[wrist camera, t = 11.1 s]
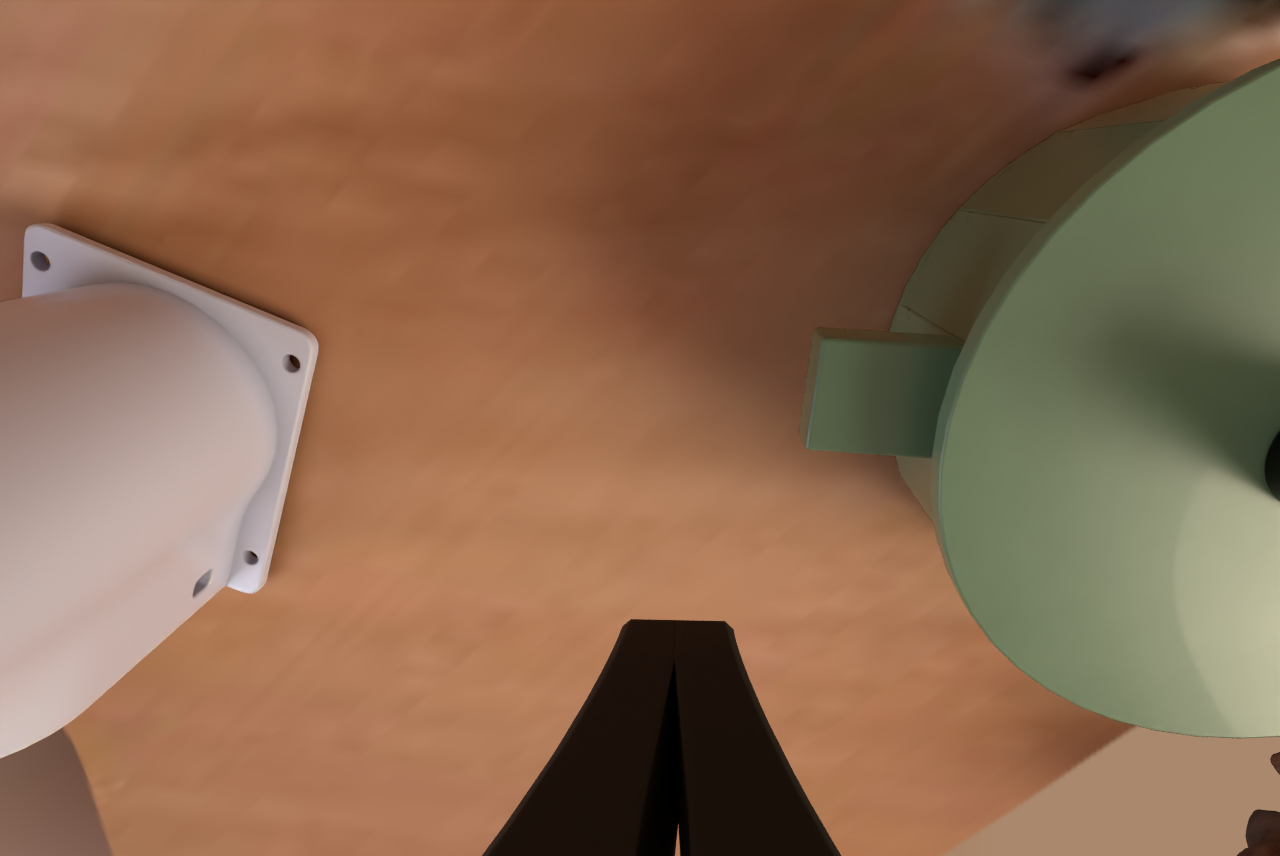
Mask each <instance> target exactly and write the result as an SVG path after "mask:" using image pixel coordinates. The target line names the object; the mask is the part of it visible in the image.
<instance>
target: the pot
mask: <svg viewBox="0 0 1280 856" xmlns="http://www.w3.org/2000/svg"><path fill="white" fill-rule="evenodd" d="M1229 82H1231V81H1228V82H1222V83H1216V84H1210V85H1204V86H1198V87H1192V88H1186V89H1180V90H1174V91H1171V92H1168V93H1165V94H1162V95H1160V96H1157V97H1154V98H1151V99H1148V100H1145V101H1143V102H1140V103H1136V104H1133V105H1129V106H1126V107H1123V108H1119V109H1116V110H1112V111H1109V112H1105V113H1103V114H1100V115H1098V116H1095V117H1093V118H1091V119H1088V120H1086V121H1084V122H1081V123H1079V124H1076V125H1074V126H1072V127H1069V128H1066V129H1063V130H1060V131H1058V132H1057V133H1055V134H1053V135H1052V136H1050V137H1049V138H1048V139H1047V140H1045V141H1044V142H1042V143H1040V144H1038V145H1036V146H1035V147H1033V148H1031V149H1030V150H1028V151H1027V152H1026V153H1024V154H1023V155H1021V156H1020V157H1019V158H1017V159H1016V160H1014V161H1013V162H1011V163H1010V164H1009V165H1007V166H1006V167H1004V168H1003V169H1002V170H1000V171H999V172H998V173H997V174H995V175H994V176H993V177H992V178H991V179H990V180H989V181H988V182H986V183H985V184H984V185H983V186H982V187H981V188H980V189H979V190H978V191H976V192H975V193H974V194H973V195H972V196H971V197H970V198H969V199H968V200H967V201H966V202H965V203H964V204H963V205H962V207H961V208H960V209H959V210H958V211H957V212H956V213H955V214H954V215H953V217H952V218H951V219H950V220H949V221H948V222H947V223H946V224H945V225H944V227H943V228H942V229H941V231H940V232H939V234H938V235H937V236H936V238H935V239H934V241H933V242H932V243H931V245H930V246H929V248H928V249H927V250H926V252H925V253H924V255H923V256H922V258H921V260H920V262H919V263H918V265H917V267H916V269H915V271H914V272H913V274H912V276H911V278H910V280H909V281H908V283H907V285H906V287H905V290H904V292H903V295H902V297H901V300H900V302H899V304H898V307H897V309H896V312H895V314H894V317H893V321H892V325H891V328H890V332H887V331H872V330H856V329H840V328H825V327H818V328H815V330H814V332H813V338H812V345H811V352H810V358H809V365H808V371H807V378H806V384H805V391H804V398H803V404H802V411H801V417H800V424H799V434H800V436H801V439H802V441H803V444H804V446H805V448H806V449H808V450H820V451H834V452H847V453H861V454H874V455H888V456H895V457H896V460H897V464H898V469H899V473H900V475H901V476H902V478H903V480H904V481H905V483H906V484H907V486H908V487H909V489H910V490H911V492H912V493H913V495H914V496H915V497H916V499H917V500H918V502H919V503H920V505H921V506H922V508H923V509H924V511H925V512H926V513H927V515H928V516H929V518H930V519H931V521H932V522H933V524H934V517H933V510H932V503H931V462H932V452H933V446H934V440H935V434H936V428H937V422H938V416H939V412H940V409H941V406H942V403H943V399H944V396H945V393H946V390H947V386H948V383H949V380H950V377H951V374H952V370H953V368H954V366H955V364H956V361H957V359H958V357H959V355H960V353H961V351H962V348H963V346H964V344H965V342H966V340H967V337H968V335H969V333H970V331H971V329H972V327H973V324H974V323H975V321H976V319H977V318H978V316H979V314H980V313H981V311H982V310H983V308H984V306H985V305H986V303H987V301H988V300H989V298H990V296H991V295H992V293H993V292H994V290H995V288H996V287H997V285H998V283H999V282H1000V280H1001V278H1002V277H1003V276H1004V274H1005V273H1006V272H1007V270H1008V269H1009V268H1010V267H1011V265H1012V264H1013V263H1014V261H1015V260H1016V259H1017V258H1018V256H1019V255H1020V254H1021V252H1022V251H1023V250H1024V249H1025V247H1026V246H1027V245H1028V243H1029V242H1030V241H1031V240H1032V238H1033V237H1034V236H1035V234H1036V233H1037V232H1038V231H1039V230H1040V229H1041V228H1042V227H1043V226H1044V224H1045V223H1046V222H1047V221H1048V220H1049V219H1050V218H1051V217H1052V216H1053V215H1054V214H1055V213H1056V212H1057V211H1058V210H1059V209H1060V208H1061V207H1062V206H1063V205H1064V204H1065V203H1066V202H1067V201H1068V200H1069V199H1070V198H1071V196H1072V195H1073V194H1074V193H1075V192H1076V191H1077V190H1078V189H1079V188H1080V187H1081V186H1082V185H1083V184H1085V183H1086V182H1087V181H1088V180H1089V179H1091V178H1092V177H1093V176H1094V175H1095V174H1096V173H1098V172H1099V171H1100V170H1101V169H1102V168H1104V167H1105V166H1106V165H1107V164H1108V163H1109V162H1111V161H1112V160H1113V159H1114V158H1115V157H1117V156H1118V155H1119V154H1120V153H1121V152H1123V151H1124V150H1125V149H1126V148H1127V147H1128V146H1130V145H1131V144H1132V143H1133V142H1135V141H1136V140H1138V139H1139V138H1141V137H1142V136H1144V135H1145V134H1146V133H1148V132H1149V131H1151V130H1152V129H1154V128H1155V127H1157V126H1158V125H1160V124H1161V123H1163V122H1164V121H1166V120H1167V119H1168V118H1170V117H1171V116H1173V115H1174V114H1176V113H1177V112H1179V111H1180V110H1182V109H1183V108H1185V107H1186V106H1187V105H1189V104H1191V103H1192V102H1194V101H1196V100H1198V99H1200V98H1202V97H1203V96H1205V95H1207V94H1209V93H1211V92H1213V91H1214V90H1216V89H1218V88H1220V87H1222V86H1224V85H1226V84H1227V83H1229ZM934 525H935V524H934Z"/></svg>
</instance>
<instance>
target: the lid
mask: <svg viewBox="0 0 1280 856" xmlns="http://www.w3.org/2000/svg"><path fill="white" fill-rule="evenodd" d="M931 503H932V510H933V517H934V524H935V531H936V537H937V540H938V543H939V547H940V550H941V553H942V556H943V559H944V563H945V566H946V569H947V572H948V574H949V576H950V578H951V580H952V582H953V584H954V586H955V588H956V590H957V591H958V593H959V595H960V597H961V599H962V601H963V603H964V605H965V606H966V608H967V609H968V611H969V613H970V614H971V616H972V617H973V618H974V620H975V621H976V622H977V624H978V625H979V626H980V628H981V629H982V631H983V632H984V633H985V635H986V636H987V637H988V639H989V640H990V641H991V643H992V644H993V645H994V646H995V647H996V648H997V649H998V650H999V651H1001V652H1002V653H1003V654H1004V655H1005V656H1006V657H1007V658H1008V659H1009V660H1010V661H1011V662H1012V663H1013V664H1014V665H1015V666H1016V667H1017V668H1018V669H1020V670H1021V671H1022V672H1024V673H1025V674H1026V675H1028V676H1029V677H1031V678H1032V679H1033V680H1035V681H1036V682H1037V683H1039V684H1040V685H1042V686H1043V687H1044V688H1046V689H1048V690H1049V691H1051V692H1053V693H1055V694H1057V695H1059V696H1061V697H1062V698H1064V699H1066V700H1068V701H1070V702H1072V703H1074V704H1076V705H1077V706H1079V707H1082V708H1084V709H1087V710H1090V711H1092V712H1095V713H1097V714H1100V715H1103V716H1105V717H1108V718H1110V719H1113V720H1116V721H1120V722H1124V723H1127V724H1131V725H1135V726H1139V727H1143V728H1147V729H1151V730H1156V731H1162V732H1169V733H1176V734H1183V735H1191V736H1199V737H1200V736H1201V737H1221V738H1257V737H1280V59H1277V60H1275V61H1273V62H1270V63H1268V64H1265V65H1263V66H1261V67H1258V68H1256V69H1253V70H1251V71H1249V72H1248V73H1246V74H1244V75H1242V76H1240V77H1238V78H1237V79H1235V80H1233V81H1231V82H1229V83H1227V84H1226V85H1224V86H1222V87H1220V88H1218V89H1216V90H1214V91H1213V92H1211V93H1209V94H1207V95H1205V96H1203V97H1202V98H1200V99H1198V100H1196V101H1194V102H1192V103H1191V104H1189V105H1187V106H1186V107H1185V108H1183V109H1182V110H1180V111H1179V112H1177V113H1176V114H1174V115H1173V116H1171V117H1170V118H1168V119H1167V120H1166V121H1164V122H1163V123H1161V124H1160V125H1158V126H1157V127H1155V128H1154V129H1152V130H1151V131H1149V132H1148V133H1146V134H1145V135H1144V136H1142V137H1141V138H1139V139H1138V140H1136V141H1135V142H1133V143H1132V144H1131V145H1130V146H1128V147H1127V148H1126V149H1125V150H1124V151H1123V152H1121V153H1120V154H1119V155H1118V156H1117V157H1115V158H1114V159H1113V160H1112V161H1111V162H1109V163H1108V164H1107V165H1106V166H1105V167H1104V168H1102V169H1101V170H1100V171H1099V172H1098V173H1096V174H1095V175H1094V176H1093V177H1092V178H1091V179H1089V180H1088V181H1087V182H1086V183H1085V184H1083V185H1082V186H1081V187H1080V188H1079V189H1078V190H1077V191H1076V192H1075V193H1074V194H1073V195H1072V196H1071V198H1070V199H1069V200H1068V201H1067V202H1066V203H1065V204H1064V205H1063V206H1062V207H1061V208H1060V209H1059V210H1058V211H1057V212H1056V213H1055V214H1054V215H1053V216H1052V217H1051V218H1050V219H1049V220H1048V221H1047V222H1046V223H1045V224H1044V226H1043V227H1042V228H1041V229H1040V230H1039V231H1038V232H1037V233H1036V234H1035V236H1034V237H1033V238H1032V240H1031V241H1030V242H1029V243H1028V245H1027V246H1026V247H1025V249H1024V250H1023V251H1022V252H1021V254H1020V255H1019V256H1018V258H1017V259H1016V260H1015V261H1014V263H1013V264H1012V265H1011V267H1010V268H1009V269H1008V270H1007V272H1006V273H1005V274H1004V276H1003V277H1002V278H1001V280H1000V282H999V283H998V285H997V287H996V288H995V290H994V292H993V293H992V295H991V296H990V298H989V300H988V301H987V303H986V305H985V306H984V308H983V310H982V311H981V313H980V314H979V316H978V318H977V319H976V321H975V323H974V324H973V327H972V329H971V331H970V333H969V335H968V337H967V340H966V342H965V344H964V346H963V348H962V351H961V353H960V355H959V357H958V359H957V361H956V364H955V366H954V368H953V370H952V374H951V377H950V380H949V383H948V386H947V390H946V393H945V396H944V399H943V403H942V406H941V409H940V412H939V416H938V422H937V428H936V434H935V440H934V446H933V452H932V462H931Z"/></svg>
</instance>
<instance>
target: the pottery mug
mask: <svg viewBox="0 0 1280 856" xmlns="http://www.w3.org/2000/svg"><path fill="white" fill-rule="evenodd" d="M1271 763H1272V765H1273V766H1274V768H1275V769H1276V771H1277V772H1278V773H1279V774H1280V752H1279V753H1276V754H1273V755H1272V756H1271ZM1246 841H1247V844H1248V847H1249V848H1246V849H1244V850H1243V851H1242V852H1240V853H1239V854H1238V855H1237V856H1280V812H1276V811H1267V810H1255V811H1254V812H1253V814H1252V815H1251V817H1250V818H1249V821H1248V825H1247V830H1246Z"/></svg>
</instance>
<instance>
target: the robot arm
mask: <svg viewBox="0 0 1280 856" xmlns="http://www.w3.org/2000/svg"><path fill="white" fill-rule="evenodd" d="M44 255H46V256H47V258H48V259H49V261H50V266H49V265H48V263H47V262H46V261H45V256H44ZM318 351H319V345H318V342H317V339H316V337H315V336H314V335H313V334H312V333H311V332H310V331H309V330H307V329H305V328H303V327H301V326H298V325H296V324H294V323H291V322H289V321H286V320H284V319H281V318H279V317H277V316H274V315H272V314H269V313H267V312H265V311H262V310H260V309H257V308H255V307H252V306H250V305H248V304H245V303H243V302H240V301H238V300H236V299H233V298H231V297H228V296H226V295H223V294H221V293H219V292H216V291H214V290H211V289H209V288H207V287H204V286H202V285H199V284H197V283H194V282H192V281H190V280H187V279H185V278H182V277H180V276H178V275H175V274H173V273H170V272H168V271H165V270H163V269H161V268H158V267H156V266H153V265H151V264H149V263H146V262H144V261H141V260H139V259H136V258H134V257H132V256H129V255H127V254H124V253H122V252H120V251H117V250H115V249H112V248H110V247H107V246H105V245H103V244H100V243H98V242H95V241H93V240H91V239H88V238H86V237H83V236H81V235H78V234H76V233H74V232H71V231H69V230H66V229H64V228H62V227H59V226H57V225H54V224H50V223H40V224H33V225H30V226H29V227H28V228H27V229H26V231H25V235H24V259H23V289H22V298H18V299H13V300H8V301H2V302H0V758H2V757H5V756H7V755H9V754H12V753H14V752H16V751H19V750H21V749H24V748H26V747H28V746H30V745H32V744H34V743H36V742H38V741H40V740H41V739H44V738H45V737H47V736H49V735H51V734H52V733H54V732H56V731H57V730H59V729H61V728H62V727H64V726H65V725H67V724H68V723H69V722H71V721H72V720H73V719H75V718H76V717H77V716H79V715H80V714H81V713H82V712H83V711H85V710H86V709H87V708H88V707H89V706H90V705H91V704H93V703H94V702H95V701H96V700H97V699H98V698H99V697H101V696H102V695H103V694H104V693H105V692H106V691H107V690H108V689H110V688H111V687H112V686H113V685H114V684H115V683H116V682H117V681H119V680H120V679H121V678H122V677H123V676H124V675H125V674H126V673H128V672H129V671H130V670H131V669H132V668H133V667H134V666H135V665H137V664H138V663H139V662H140V661H141V660H142V659H143V658H144V657H146V656H147V655H148V654H149V653H150V652H151V651H152V650H153V649H155V648H156V647H157V646H158V645H159V644H160V643H161V642H162V641H164V640H165V639H166V638H167V637H168V636H169V635H170V634H171V633H173V632H174V631H175V630H176V629H177V628H178V627H179V626H180V625H182V624H183V623H184V622H185V621H186V620H187V619H188V618H189V617H191V616H192V615H193V614H194V613H195V612H196V611H197V610H199V609H200V608H201V607H202V606H203V605H204V604H205V603H206V602H208V601H209V600H210V599H211V598H212V597H213V596H214V595H215V594H217V593H218V592H219V591H220V590H221V589H222V588H223V587H224V586H228V587H230V588H233V589H236V590H238V591H241V592H244V593H249V594H250V593H255V592H257V591H259V590H260V589H261V588H262V587H263V586H264V585H265V583H266V581H267V576H268V572H269V568H270V563H271V559H272V554H273V550H274V546H275V541H276V537H277V532H278V528H279V524H280V519H281V515H282V510H283V506H284V501H285V497H286V493H287V488H288V484H289V479H290V475H291V471H292V466H293V462H294V457H295V453H296V448H297V444H298V440H299V435H300V431H301V426H302V422H303V418H304V413H305V409H306V404H307V400H308V395H309V391H310V387H311V382H312V378H313V373H314V369H315V365H316V360H317V356H318ZM290 355H293V356H295V357H296V358H297V359H298V360H299V362H300V368H296V367H295V366H294V365H293V364H292V363H291V361H290ZM250 551H252V552H253V553H255V554H256V556H257V557H258V558H257V557H255V556H253V555H252V553H251V552H250ZM678 824H679V841H680V856H841V855H840V853H839V851H838V850H837V848H836V846H835V845H834V843H833V841H832V839H831V838H830V836H829V834H828V833H827V831H826V829H825V827H824V826H823V824H822V822H821V820H820V819H819V817H818V815H817V814H816V812H815V810H814V808H813V807H812V805H811V803H810V801H809V800H808V798H807V796H806V794H805V792H804V791H803V789H802V787H801V785H800V783H799V781H798V779H797V778H796V776H795V774H794V772H793V770H792V768H791V766H790V764H789V762H788V760H787V758H786V756H785V754H784V752H783V750H782V748H781V746H780V744H779V742H778V740H777V739H776V737H775V735H774V733H773V731H772V729H771V727H770V725H769V723H768V720H767V718H766V716H765V714H764V712H763V710H762V707H761V705H760V703H759V701H758V698H757V696H756V694H755V691H754V689H753V687H752V684H751V682H750V680H749V677H748V674H747V672H746V669H745V667H744V664H743V661H742V658H741V656H740V653H739V649H738V646H737V643H736V639H735V635H734V630H733V629H732V628H731V627H730V626H729V625H728V624H727V623H726V622H725V621H685V620H637V619H631V620H630V621H628V622H627V623H626V624H625V625H624V626H623V627H622V629H621V632H620V634H619V637H618V639H617V641H616V644H615V646H614V648H613V650H612V652H611V654H610V656H609V658H608V660H607V662H606V664H605V666H604V668H603V670H602V672H601V674H600V676H599V678H598V680H597V681H596V683H595V685H594V687H593V689H592V690H591V692H590V694H589V696H588V698H587V699H586V701H585V703H584V705H583V706H582V708H581V709H580V711H579V713H578V714H577V716H576V718H575V719H574V721H573V723H572V724H571V726H570V728H569V729H568V731H567V733H566V734H565V736H564V738H563V739H562V741H561V743H560V744H559V746H558V747H557V749H556V751H555V752H554V754H553V755H552V757H551V758H550V760H549V761H548V763H547V764H546V766H545V767H544V769H543V770H542V772H541V773H540V775H539V776H538V777H537V779H536V780H535V782H534V783H533V785H532V786H531V788H530V789H529V791H528V792H527V794H526V795H525V796H524V798H523V799H522V801H521V802H520V804H519V805H518V807H517V808H516V810H515V811H514V812H513V814H512V815H511V817H510V818H509V820H508V821H507V822H506V824H505V825H504V827H503V828H502V829H501V831H500V832H499V833H498V835H497V836H496V837H495V839H494V840H493V841H492V843H491V844H490V845H489V847H488V848H487V850H486V851H485V852H484V853H483V855H482V856H675V849H676V839H677V830H678Z"/></svg>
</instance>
